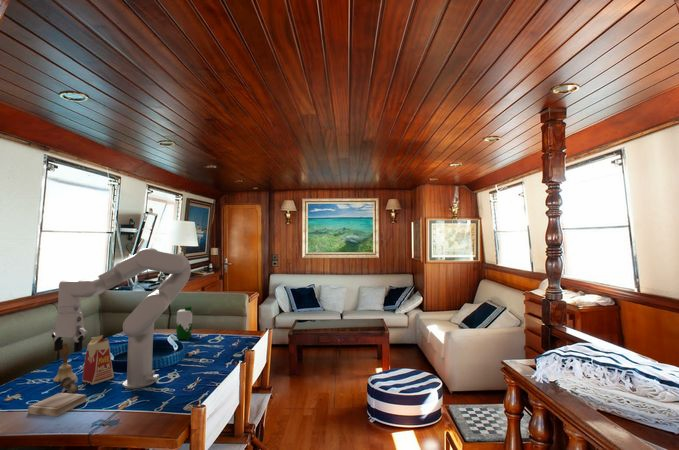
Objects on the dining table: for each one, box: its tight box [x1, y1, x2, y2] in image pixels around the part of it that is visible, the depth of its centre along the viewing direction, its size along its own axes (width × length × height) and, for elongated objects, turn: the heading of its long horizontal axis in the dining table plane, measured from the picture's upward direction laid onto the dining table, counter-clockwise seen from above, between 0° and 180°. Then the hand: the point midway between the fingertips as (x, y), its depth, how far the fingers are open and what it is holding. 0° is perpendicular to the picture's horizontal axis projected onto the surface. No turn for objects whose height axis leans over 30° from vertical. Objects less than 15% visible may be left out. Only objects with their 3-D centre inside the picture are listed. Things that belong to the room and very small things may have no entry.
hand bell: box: [52, 342, 77, 383], centre depth 161 cm, size 8×8×16 cm
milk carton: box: [82, 334, 115, 386], centre depth 159 cm, size 9×9×20 cm
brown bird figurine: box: [58, 375, 79, 394], centre depth 146 cm, size 8×7×9 cm
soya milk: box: [176, 305, 193, 340], centre depth 228 cm, size 9×9×20 cm
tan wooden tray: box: [27, 392, 87, 417], centre depth 132 cm, size 12×12×3 cm
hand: (68, 350), depth 148 cm, fingers open, 9 cm apart
